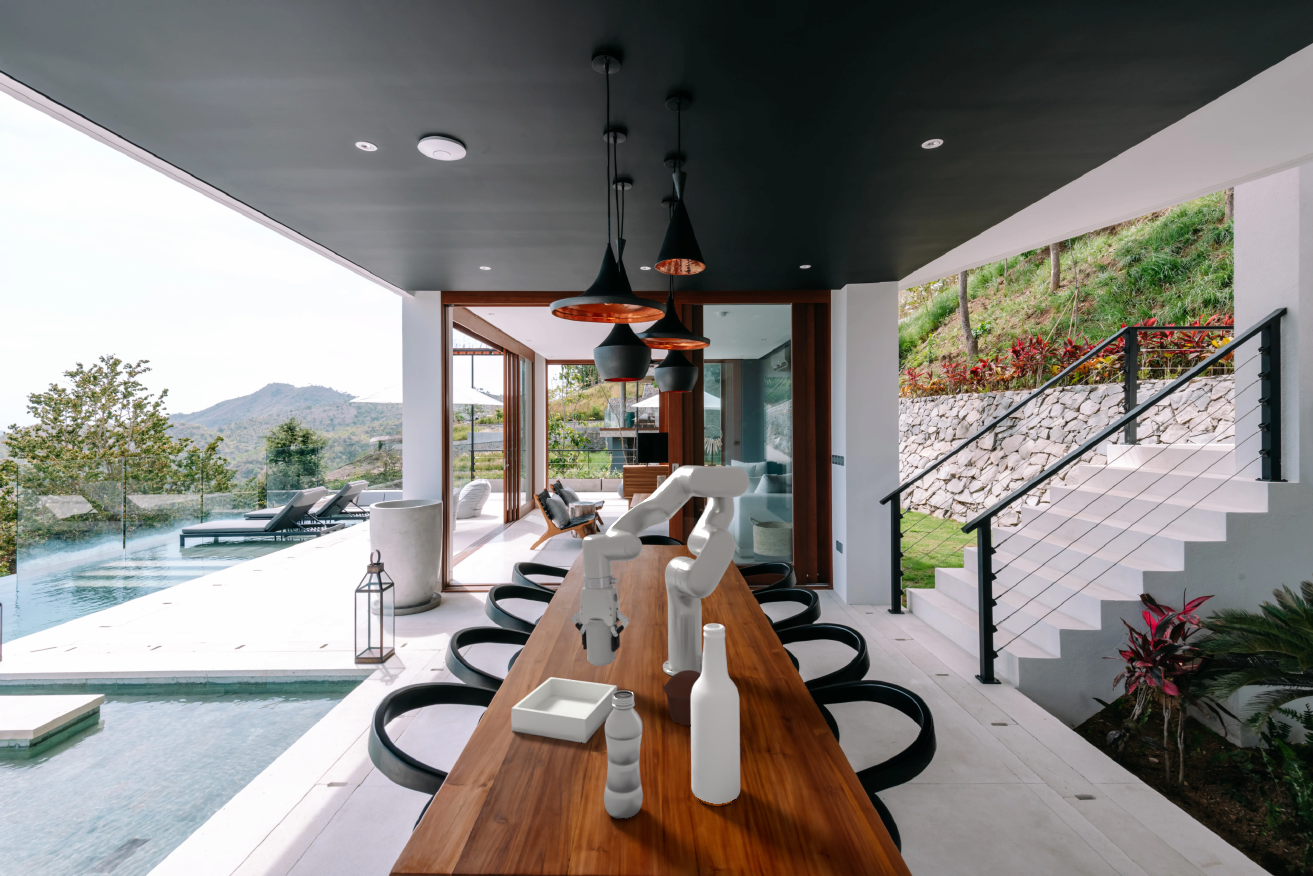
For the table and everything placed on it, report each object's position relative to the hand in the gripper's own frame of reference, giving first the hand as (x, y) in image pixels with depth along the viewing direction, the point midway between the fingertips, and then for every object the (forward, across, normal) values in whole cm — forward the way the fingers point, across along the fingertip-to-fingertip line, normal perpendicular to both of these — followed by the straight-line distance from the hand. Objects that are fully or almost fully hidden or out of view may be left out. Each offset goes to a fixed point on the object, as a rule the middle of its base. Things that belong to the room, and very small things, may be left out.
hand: (601, 648), depth 149 cm
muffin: (+11, -26, +10) cm, 30 cm away
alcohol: (+10, -38, +37) cm, 54 cm away
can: (+4, 0, 0) cm, 4 cm away
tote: (+9, +1, +19) cm, 21 cm away
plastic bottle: (+9, -24, +47) cm, 54 cm away
